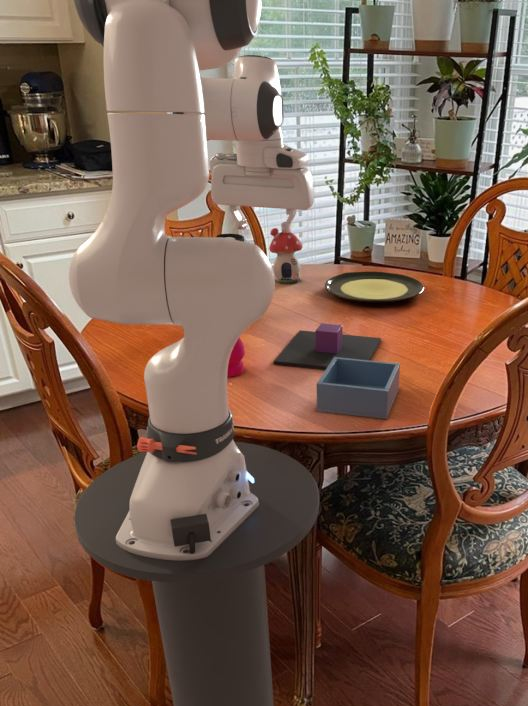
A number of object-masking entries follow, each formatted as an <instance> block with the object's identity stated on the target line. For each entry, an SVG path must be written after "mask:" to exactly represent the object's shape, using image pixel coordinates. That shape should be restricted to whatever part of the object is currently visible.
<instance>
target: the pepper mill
mask: <svg viewBox="0 0 528 706" xmlns="http://www.w3.org/2000/svg"><path fill="white" fill-rule="evenodd" d="M245 355H246V350H245V345H244V342H243V340H242V339H241V336H240V337H239V339H238V340H237V342H236V343H235V345H234V347H233V350H232V352H231V355H230V359H229V363H228V370H227V378H231V377H236V376H239V375H242V374H243V373H244V370H245V367H244V362H243V359H244V357H245Z"/></svg>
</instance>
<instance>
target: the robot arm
mask: <svg viewBox="0 0 528 706" xmlns="http://www.w3.org/2000/svg"><path fill="white" fill-rule="evenodd" d="M73 2H74V6H75V9H76V12H77V16H78V19H79V20H80V23H81V24H82V26H83V27H84V29H85V30H86V31H87V32H88V34H89V35H90V36H91V37H92V38H93V40H94V41H95V42H97V43H98V44H100V45H102V48H103V84H104V97H105V105H106V112H107V123H108V131H109V142H110V150H111V165H112V167H111V168H112V188H111V194H110V200H109V202H108V206H107V209H106V212H105V214H104V217H103V218H102V220H101V222H100V224H99V226H98V227H97V228H96V230H95V231H94V232H93V233H92V235H91V236H90V237H89V238H88V239H87V240H85V241H84V242H83V243H81V245H79V247H78V248H77V249H76V250H75V252H74V253H73V256H72V258H71V260H70V264H69V268H68V283H69V289H70V292H71V295H72V297H73V299H74V301H75V303H76V304H77V305H78V307H79V308H80V310H81V311H82V313H84V314H85V315H86V316H87V317H89V318H90V319H93V320H94V319H95V320H97V321H98V320H99V321H104V322H108V323H113V324H118V325H119V324H120V325H124V326H177V327H180V328H182V329H183V337H182V338H181V339H179V340H178V341H176V342H174V343H172V344H169V345H167V346H165V347H164V348H162V349H160V350H159V351H157V352H156V353H154V355H152V356H151V357H150V358H149V360H148V361H147V363H146V365H145V367H144V371H143V380H144V387H145V393H146V401H147V407H148V414H149V417H148V418H147V427H146V433H145V434H146V437H143V436H140V437H138V439H137V443H136V446H137V447H136V448H137V451H138V452H140V453H145V452H147V454H146V457H145V459H144V462H143V464H142V467H141V469H140V472H139V475H138V478H137V481H136V483H135V486H134V489H133V492H132V495H131V498H130V510H129V512H128V514H127V516H126V518H125V520H124V522H123V524H122V526H121V528H120V530H119V532H118V533H117V536H116V544H117V545H118V546H119V547H121V548H122V549H124V550H126V551H128V552H130V553H133V554H136V555H140V556H144V557H150V558H155V559H163V560H174V561H185V560H196V559H201V558H205V557H208V556H209V555H210V554H211V553H212V552H213V551H214V550H215V549H216V548H217V547H218V546H219V545H220V544H221V543H222V542H223V541H224V540H225V539H226V538H227V537H228V536H229V535H230V534H231V533H232V532H233V531H234V530H235V529H236V528H237V527H238V526H239V525H240V524H241V523H242V522H243V521H244V520H245V519H246V518H247V517H248V516H249V515H250V514H251V513H252V512H253V511H254V510H255V509H256V508H257V507H258V506H259V502H258V498H257V497H256V496H255V495H254V494H252V493H251V492H250V489H249V483H248V479H249V480H250V481H251V482H252V483H254V478H253V477H252V476H251V475H250V474H249V473H248V472H247V470H246V464H245V459H244V456H243V454H242V453H241V452H240V450H239V449H238V447H237V446H236V444H235V442H236V441H234V437H235V431H234V430H235V422H234V419H233V413H232V411H231V409H230V407H229V394H228V393H229V391H228V377H227V370H228V363H229V359H230V355H231V352H232V350H233V347H234V345H235V343H236V342H237V340H238V339H239V337H240V338H241V337H242V335H243V334H244V332H245V331H247V329H248V328H249V327H250V326H252V325H253V324H254V323H256V322H257V321H258V320H260V319H261V318H262V317H263V316H264V315H265V313H266V312H268V309H269V308H270V306H271V305H272V304H271V303H272V302H273V298H274V295H275V290H276V289H275V288H276V281H275V280H276V277H275V274H274V271H273V266H272V263H271V261H270V259H269V258H268V256H267V254H266V253H265V252H264V251H263V250H262V249H261V247H260V246H258V245H257V244H255V243H252V242H251V243H250V242H246V241H244V242H243V241H238V240H233V239H228V238H223V237H216V236H214V237H210V236H209V237H208V236H206V237H205V236H171V235H167V234H166V229H165V226H166V225H165V224H166V219H167V218H168V217H167V216H168V215H170V214H172V213H174V212H175V211H177V210H180V209H181V208H183V207H185V206H187V205H188V204H190V203H191V202H194V201H195V200H196V199H197V198H199V197H200V196H201V195H202V194H203V193H204V191H205V190H206V188H207V186H208V184H209V179H210V174H211V179H210V180H211V181H210V197H211V200H212V201H213V203H214V204H215V205H220V206H229V212H230V214H231V216H232V217H233V219H234V220H235V225H236V227H235V228H236V230H242V231H244V230H246V229H247V218H243V217H242V216H241V213H240V212H239V211H240V210H241V207H251V208H265V209H278V210H279V209H281V210H285V213H286V215H287V216H288V217H287V218H286V221H282V222H281V223H280V224H281V225H280V226H281V232H284V233H290V232H291V233H292V222H293V221H294V218H295V217H296V215H297V210H298V211H307V210H309V209H311V207H312V206H313V205H314V203H315V194H314V184H313V178H312V176H313V175H312V173H311V171H310V170H309V168H308V167H306V165H308V163H309V157H308V154H307V153H306V152H303V151H301V150H299V149H296V148H294V147H291V146H289V145H287V144H284V135H283V132H282V128H281V127H282V126H283V125H284V121H285V120H284V119H285V118H284V98H283V95H282V91H281V90H282V89H281V82H280V75H279V70H278V65H277V63H276V61H275V60H274V59H272V58H271V57H268V56H265V55H264V56H263V55H259V54H257V55H256V54H246V55H240V56H238V55H239V54H240V52H241V50H242V48H243V47H246V46H248V45H249V44H250V43H251V42H252V40H253V39H254V38H255V36H256V35H257V33H258V31H259V30H258V29H259V23H260V20H261V15H262V5H263V4H262V2H263V1H262V0H73ZM237 56H238V57H237ZM233 60H234V64H233V75H232V76H233V77H231V78H227V77H226V78H225V77H201V73H200V72H201V71H208V70H216V69H219V68H221V67H224V66H226V65H228V64H229V63H230V62H231V61H233ZM208 141H231V142H233V141H234V142H235V149H236V153H223V152H217V153H215V155H213V156H212V157H210V160H209V152H208Z"/></svg>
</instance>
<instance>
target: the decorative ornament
mask: <svg viewBox="0 0 528 706" xmlns="http://www.w3.org/2000/svg"><path fill="white" fill-rule="evenodd" d="M269 233H270V236H273V237H272V240H271V242H270V244H269V247H268V248H269V252H270V253H272V254H276V257H275V259H274V262H273V266H272V269H273V272H274V277H275V280H276V282H277V283H279V284H284V285H285V284H286V285H287V284H288V285H289V284H297V283H299V282H301V277H300V274H301V263H300V260H299V259H298V257H297V256H296V255H295V253H297V252H299V251H302V249H303V244H302V241H301V240H300V239H299V238H298V237H297V235H296V234H294V233H293V232H292V231H291V232H290V233H284V232H282V231H281V232H279V229H278V228H277V227H274V228H272V229H271V230H270V232H269Z"/></svg>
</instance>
